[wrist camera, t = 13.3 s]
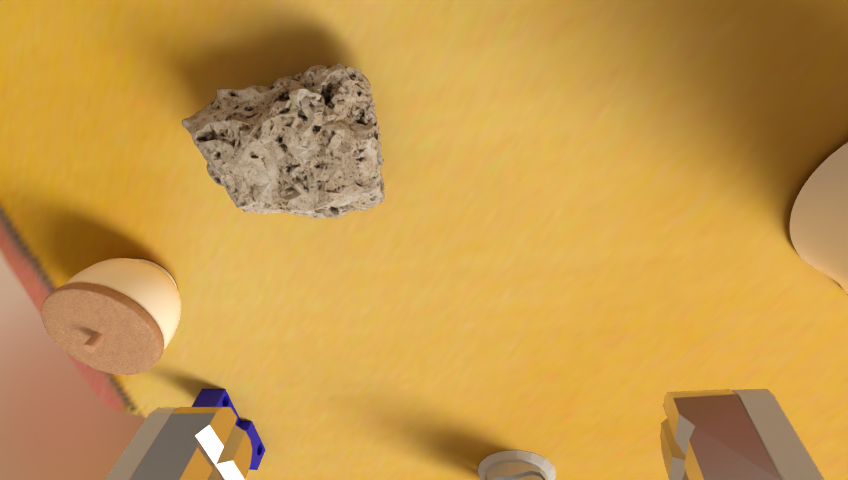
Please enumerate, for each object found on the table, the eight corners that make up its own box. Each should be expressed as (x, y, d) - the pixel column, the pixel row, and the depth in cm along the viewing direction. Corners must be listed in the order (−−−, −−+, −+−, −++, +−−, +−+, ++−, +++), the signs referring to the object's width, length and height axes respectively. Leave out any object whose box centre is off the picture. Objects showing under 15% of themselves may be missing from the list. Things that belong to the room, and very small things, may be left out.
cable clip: (265, 448, 66) (247, 492, 61) (234, 447, 67) (214, 490, 62) (237, 387, 60) (214, 431, 55) (203, 387, 60) (177, 430, 55)
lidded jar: (89, 292, 53) (21, 358, 45) (105, 220, 48) (30, 281, 40) (186, 335, 55) (136, 404, 47) (211, 271, 50) (160, 338, 42)
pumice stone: (239, 187, 44) (194, 236, 37) (205, 46, 37) (144, 75, 31) (395, 194, 43) (378, 246, 36) (389, 49, 36) (366, 80, 29)
